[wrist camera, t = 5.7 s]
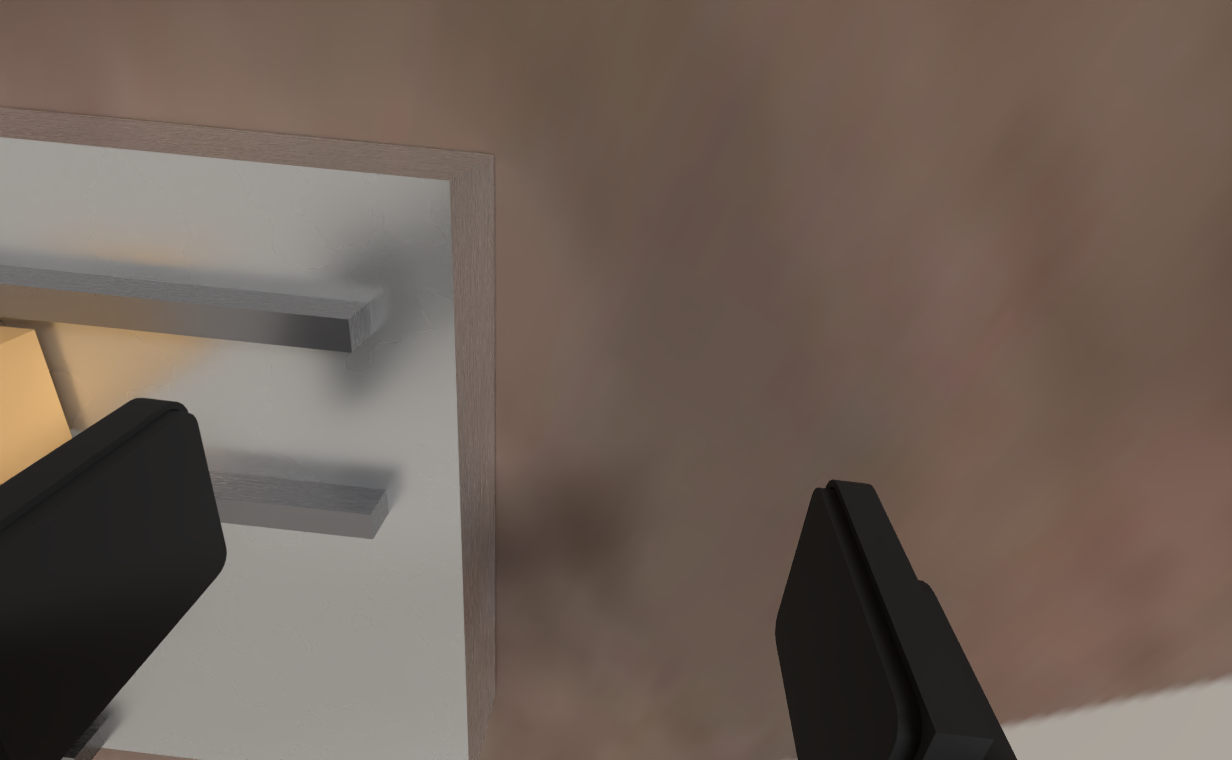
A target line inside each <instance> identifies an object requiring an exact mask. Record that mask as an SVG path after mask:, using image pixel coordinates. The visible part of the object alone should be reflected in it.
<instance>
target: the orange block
mask: <svg viewBox="0 0 1232 760" xmlns="http://www.w3.org/2000/svg"><path fill="white" fill-rule="evenodd" d="M70 439H72V436H71V433H70V430H69V427H68V424H67V421H66V418H65V416H64V413H63V410H62V407H61V404H60V401H59V398H58V396H57V393H56V390H55V387H54V384H53V381H52V378H51V375H50V373H49V370H48V367H47V364H46V361H45V358H44V355H43V352H42V350H41V347H40V344H39V341H38V338H37V335H36V332H35V330H33V329H24V328H14V327H5V326H0V485H1V484H3V483H4V482H6V481H7V480H9V479H10V478H12V477H13V476H15V475H16V474H18V473H20V472H21V471H23V470H24V469H26V468H27V467H29V466H30V465H32V464H33V463H35V462H36V461H38V460H39V459H41V458H43V457H44V456H46V455H47V454H49V453H50V452H52V451H53V450H55V449H56V448H58V447H59V446H61V445H62V444H64V443H66V442H67V441H69V440H70Z"/></svg>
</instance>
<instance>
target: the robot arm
mask: <svg viewBox="0 0 1232 760" xmlns="http://www.w3.org/2000/svg"><path fill="white" fill-rule="evenodd" d="M226 557H227V549H226V544H225V539H224V535H223V531H222V526H221V522H220V517H219V513H218V509H217V504H216V500H215V496H214V491H213V487H212V482H211V478H210V474H209V469H208V465H207V460H206V456H205V452H204V447H203V443H202V438H201V434H200V430H199V425H198V422H197V419H196V417H195V416H194V415H193V414H191V413H188V410H187V408H186V407H185V406H184V405H183V404H181V403H179V402H175V401H167V400H158V399H150V398H135V399H133V400H130V401H129V402H127V403H125V404H124V405H122V406H121V407H119V408H118V409H116V410H115V411H113V412H112V413H110V414H109V415H107V416H105V417H104V418H102V419H101V420H99V421H98V422H96V423H95V424H93V425H92V426H90V427H89V428H87V429H86V430H84V431H82V432H81V433H79V434H78V435H76V436H75V437H73V438H72V439H70V440H69V441H67V442H66V443H64V444H62V445H61V446H59V447H58V448H56V449H55V450H53V451H52V452H50V453H49V454H47V455H46V456H44V457H43V458H41V459H39V460H38V461H36V462H35V463H33V464H32V465H30V466H29V467H27V468H26V469H24V470H23V471H21V472H20V473H18V474H16V475H15V476H13V477H12V478H10V479H9V480H7V481H6V482H4V483H3V484H1V485H0V760H61V759H62V758H63V757H64V756H65V755H66V753H67V752H68V751H69V750H70V749H71V748H72V746H73V745H74V744H75V743H76V742H77V740H78V739H79V738H80V737H81V736H82V735H83V733H84V732H85V731H86V730H87V729H88V728H89V726H90V725H91V724H92V723H93V722H94V721H95V719H96V718H97V717H98V716H99V715H100V714H101V712H102V711H103V710H104V709H105V708H106V707H107V705H108V704H109V703H110V702H111V701H112V699H113V698H114V697H115V696H116V695H117V694H118V692H119V691H120V690H121V689H122V688H123V687H124V685H125V684H126V683H127V682H128V681H129V680H130V678H131V677H132V676H133V675H134V674H135V673H136V671H137V670H138V669H139V668H140V667H141V666H142V664H143V663H144V662H145V661H146V660H147V658H148V657H149V656H150V655H151V654H152V653H153V651H154V650H155V649H156V648H157V647H158V646H159V644H160V643H161V642H162V641H163V640H164V639H165V637H166V636H167V635H168V634H169V633H170V632H171V630H172V629H173V628H174V627H175V626H176V624H177V623H178V622H179V621H180V620H181V619H182V617H183V616H184V615H185V614H186V613H187V612H188V610H189V609H190V608H191V607H192V606H193V605H194V603H195V602H196V601H197V600H198V599H199V598H200V596H201V595H202V594H203V593H204V592H205V591H206V589H207V588H208V587H209V586H210V585H211V583H212V582H213V581H214V580H215V579H216V578H217V576H218V575H219V574H220V572H221V571H222V569H223V567H224V565H225V561H226ZM775 636H776V645H777V651H778V656H779V661H780V667H781V672H782V677H783V683H784V688H785V693H786V699H787V704H788V709H789V715H790V720H791V725H792V731H793V736H794V741H795V747H796V752H797V757H798V760H1017V758H1016V756H1015V754H1014V752H1013V750H1012V749H1011V746H1010V744H1009V742H1008V740H1007V738H1006V736H1005V734H1004V732H1003V730H1002V728H1001V726H1000V724H999V722H998V720H997V718H996V716H995V714H994V712H993V710H992V708H991V706H990V704H989V702H988V700H987V698H986V696H985V694H984V692H983V690H982V688H981V686H980V684H979V682H978V680H977V678H976V676H975V674H974V672H973V670H972V668H971V666H970V664H969V662H968V660H967V658H966V656H965V654H964V652H963V650H962V648H961V646H960V644H959V642H958V640H957V638H956V636H955V634H954V632H953V630H952V628H951V626H950V624H949V622H948V620H947V618H946V615H945V613H944V611H943V609H942V607H941V605H940V603H939V601H938V599H937V597H936V595H935V594H934V592H933V591H932V589H931V588H930V586H929V585H928V584H926V583H925V582H923V581H920V580H918V579H917V577H916V575H915V573H914V571H913V569H912V566H911V564H910V562H909V560H908V558H907V556H906V554H905V552H904V550H903V548H902V546H901V543H900V541H899V539H898V537H897V535H896V533H895V531H894V529H893V527H892V525H891V523H890V521H889V518H888V516H887V514H886V512H885V510H884V508H883V506H882V504H881V502H880V500H879V498H878V495H877V493H876V491H875V489H874V488H873V486H872V485H870V484H865V483H857V482H848V481H840V480H831V481H829V482H828V484H827V486H826V488H816V489H815V490H814V492H813V494H812V497H811V501H810V504H809V508H808V511H807V515H806V518H805V521H804V525H803V528H802V532H801V535H800V539H799V542H798V546H797V549H796V553H795V556H794V560H793V563H792V566H791V570H790V573H789V577H788V580H787V584H786V587H785V591H784V594H783V598H782V601H781V605H780V608H779V612H778V615H777V619H776V629H775Z"/></svg>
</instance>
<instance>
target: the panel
mask: <svg viewBox="0 0 1232 760" xmlns="http://www.w3.org/2000/svg"><path fill="white" fill-rule="evenodd" d="M0 326H5V327H14V328H24V329H33V330H35V332H36V335H37V338H38V341H39V344H40V347H41V350H42V352H43V355H44V358H45V361H46V364H47V367H48V370H49V373H50V375H51V378H52V381H53V384H54V387H55V390H56V393H57V396H58V398H59V401H60V404H61V407H62V410H63V413H64V416H65V418H66V421H67V424H68V427H69V430H70V433H71V436H72V438H73V437H75V436H76V435H78V434H79V433H81V432H82V431H84V430H86V429H87V428H89V427H90V426H92V425H93V424H95V423H96V422H98V421H99V420H101V419H102V418H104V417H105V416H107V415H109V414H110V413H112V412H113V411H115V410H116V409H118V408H119V407H121V406H122V405H124V404H125V403H127V402H129V401H130V400H133V399H135V398H150V399H158V400H167V401H175V402H179V403H181V404H183V405H184V406H185V407H186V408H187V410H188V413H191V414H193V415H194V416H195V417H196V419H197V422H198V425H199V430H200V434H201V438H202V443H203V447H204V452H205V456H206V460H207V465H208V469H209V474H210V478H211V482H212V487H213V491H214V496H215V500H216V504H217V509H218V513H219V517H220V522H221V526H222V531H223V535H224V539H225V544H226V549H227V557H226V561H225V565H224V567H223V569H222V571H221V572H220V574H219V575H218V576H217V578H216V579H215V580H214V581H213V582H212V583H211V585H210V586H209V587H208V588H207V589H206V591H205V592H204V593H203V594H202V595H201V596H200V598H199V599H198V600H197V601H196V602H195V603H194V605H193V606H192V607H191V608H190V609H189V610H188V612H187V613H186V614H185V615H184V616H183V617H182V619H181V620H180V621H179V622H178V623H177V624H176V626H175V627H174V628H173V629H172V630H171V632H170V633H169V634H168V635H167V636H166V637H165V639H164V640H163V641H162V642H161V643H160V644H159V646H158V647H157V648H156V649H155V650H154V651H153V653H152V654H151V655H150V656H149V657H148V658H147V660H146V661H145V662H144V663H143V664H142V666H141V667H140V668H139V669H138V670H137V671H136V673H135V674H134V675H133V676H132V677H131V678H130V680H129V681H128V682H127V683H126V684H125V685H124V687H123V688H122V689H121V690H120V691H119V692H118V694H117V695H116V696H115V697H114V698H113V699H112V701H111V702H110V703H109V704H108V705H107V707H106V708H105V709H104V710H103V711H102V712H101V714H100V715H99V716H98V717H97V718H96V719H95V721H94V722H93V723H92V724H91V725H90V726H89V728H88V729H87V730H86V731H85V732H84V733H83V735H82V736H81V737H80V738H79V739H78V740H77V742H76V743H75V744H74V745H73V746H72V748H71V749H70V750H69V751H68V752H67V753H66V755H65V756H64V757H63V758H62V759H61V760H92V759H93V757H94V756H95V755H96V754H97V752H98V751H99V750H100V749H101V748H107V749H115V750H124V751H132V752H140V753H149V754H157V755H166V756H174V757H182V758H191V759H199V760H478V758H479V755H480V751H481V747H482V743H483V739H484V736H485V732H486V728H487V724H488V720H489V717H490V713H491V709H492V705H493V702H494V698H495V694H496V674H495V311H494V154H485V153H474V152H464V151H453V150H443V149H433V148H422V147H412V146H401V145H391V144H381V143H370V142H360V141H350V140H339V139H329V138H318V137H308V136H298V135H287V134H277V133H266V132H256V131H246V130H235V129H225V128H214V127H204V126H194V125H183V124H173V123H163V122H152V121H142V120H131V119H121V118H111V117H100V116H90V115H79V114H69V113H59V112H48V111H38V110H27V109H17V108H7V107H0Z"/></svg>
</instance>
